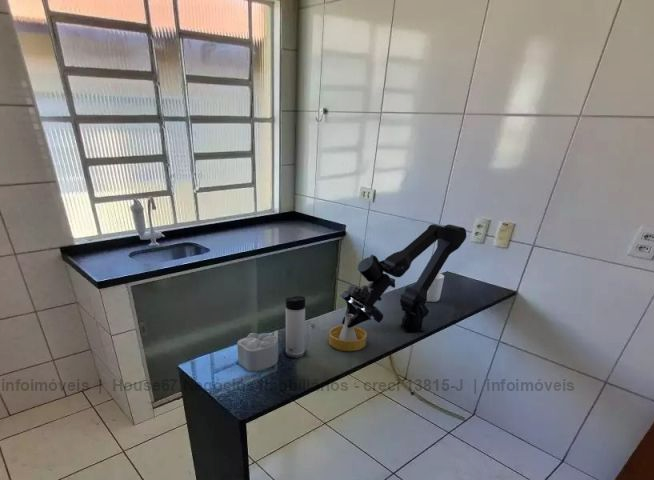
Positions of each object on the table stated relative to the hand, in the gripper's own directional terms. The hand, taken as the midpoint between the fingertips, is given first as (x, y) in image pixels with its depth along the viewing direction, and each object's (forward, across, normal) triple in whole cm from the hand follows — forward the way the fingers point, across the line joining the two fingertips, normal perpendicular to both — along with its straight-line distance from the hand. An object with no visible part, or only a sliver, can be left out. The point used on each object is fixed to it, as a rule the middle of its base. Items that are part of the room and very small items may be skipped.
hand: (345, 325), depth 139 cm
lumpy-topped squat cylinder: (+27, -1, -17) cm, 32 cm away
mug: (-37, -22, +48) cm, 64 cm away
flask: (+4, 0, +6) cm, 7 cm away
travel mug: (+18, -1, -8) cm, 20 cm away
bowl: (+4, 0, +6) cm, 7 cm away
